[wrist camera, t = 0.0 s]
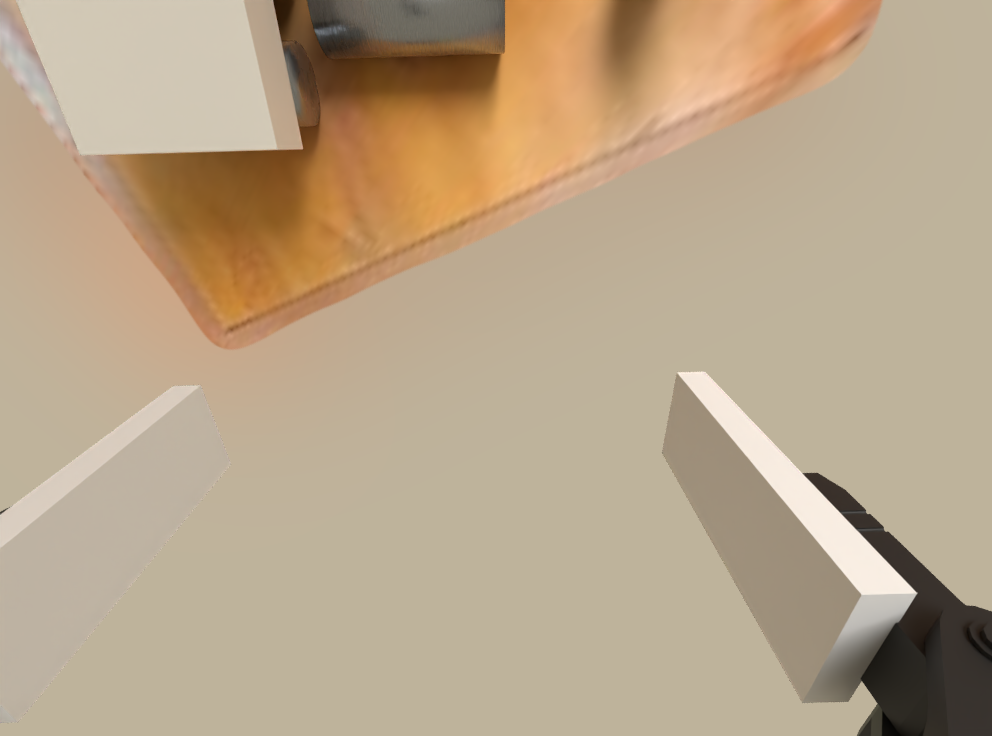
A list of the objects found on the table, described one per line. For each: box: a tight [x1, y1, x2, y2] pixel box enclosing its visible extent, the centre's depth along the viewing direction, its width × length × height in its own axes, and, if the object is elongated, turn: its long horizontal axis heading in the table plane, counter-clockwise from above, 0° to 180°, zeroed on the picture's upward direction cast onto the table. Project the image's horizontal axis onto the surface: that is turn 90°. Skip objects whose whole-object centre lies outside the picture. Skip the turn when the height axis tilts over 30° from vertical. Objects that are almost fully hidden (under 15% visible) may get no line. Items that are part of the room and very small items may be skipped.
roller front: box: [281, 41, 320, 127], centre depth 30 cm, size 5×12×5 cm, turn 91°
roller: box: [307, 0, 505, 59], centre depth 28 cm, size 5×12×5 cm, turn 92°
